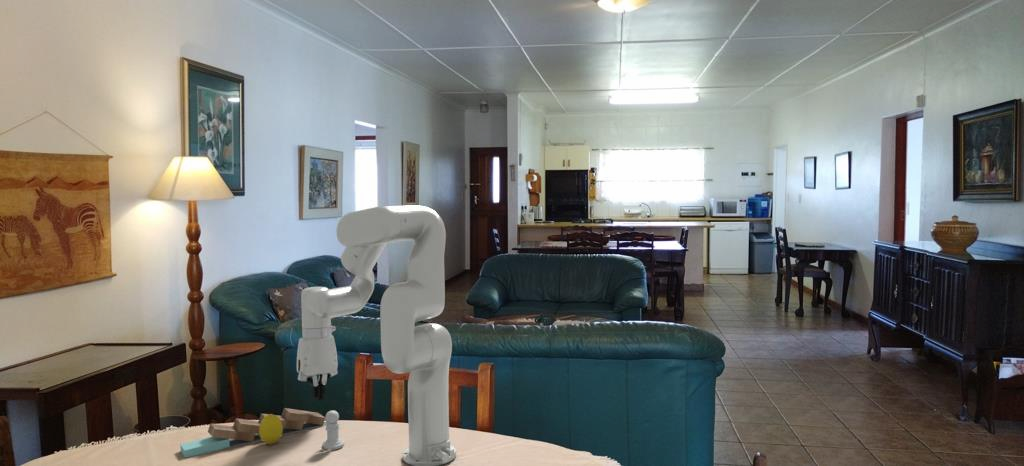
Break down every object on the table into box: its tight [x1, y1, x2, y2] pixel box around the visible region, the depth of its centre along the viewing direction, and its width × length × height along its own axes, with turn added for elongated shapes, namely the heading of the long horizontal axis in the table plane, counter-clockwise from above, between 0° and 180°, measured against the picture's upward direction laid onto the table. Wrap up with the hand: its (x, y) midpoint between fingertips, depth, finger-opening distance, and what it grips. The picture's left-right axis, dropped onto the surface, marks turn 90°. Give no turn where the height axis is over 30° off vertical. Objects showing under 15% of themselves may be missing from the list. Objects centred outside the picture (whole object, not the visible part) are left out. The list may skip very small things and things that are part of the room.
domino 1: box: [207, 423, 256, 441], centre depth 161 cm, size 5×2×10 cm
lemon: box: [259, 413, 283, 446], centre depth 160 cm, size 6×6×8 cm
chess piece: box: [322, 410, 345, 451], centre depth 159 cm, size 5×5×9 cm
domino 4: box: [281, 407, 325, 425], centre depth 173 cm, size 5×2×10 cm
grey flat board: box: [222, 419, 327, 450], centre depth 168 cm, size 6×28×1 cm, turn 128°
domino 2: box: [232, 418, 260, 434], centre depth 165 cm, size 5×2×10 cm
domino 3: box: [258, 413, 304, 430], centre depth 169 cm, size 5×2×10 cm
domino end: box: [180, 435, 230, 458], centre depth 158 cm, size 5×2×10 cm
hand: (318, 398), depth 175 cm, fingers closed
